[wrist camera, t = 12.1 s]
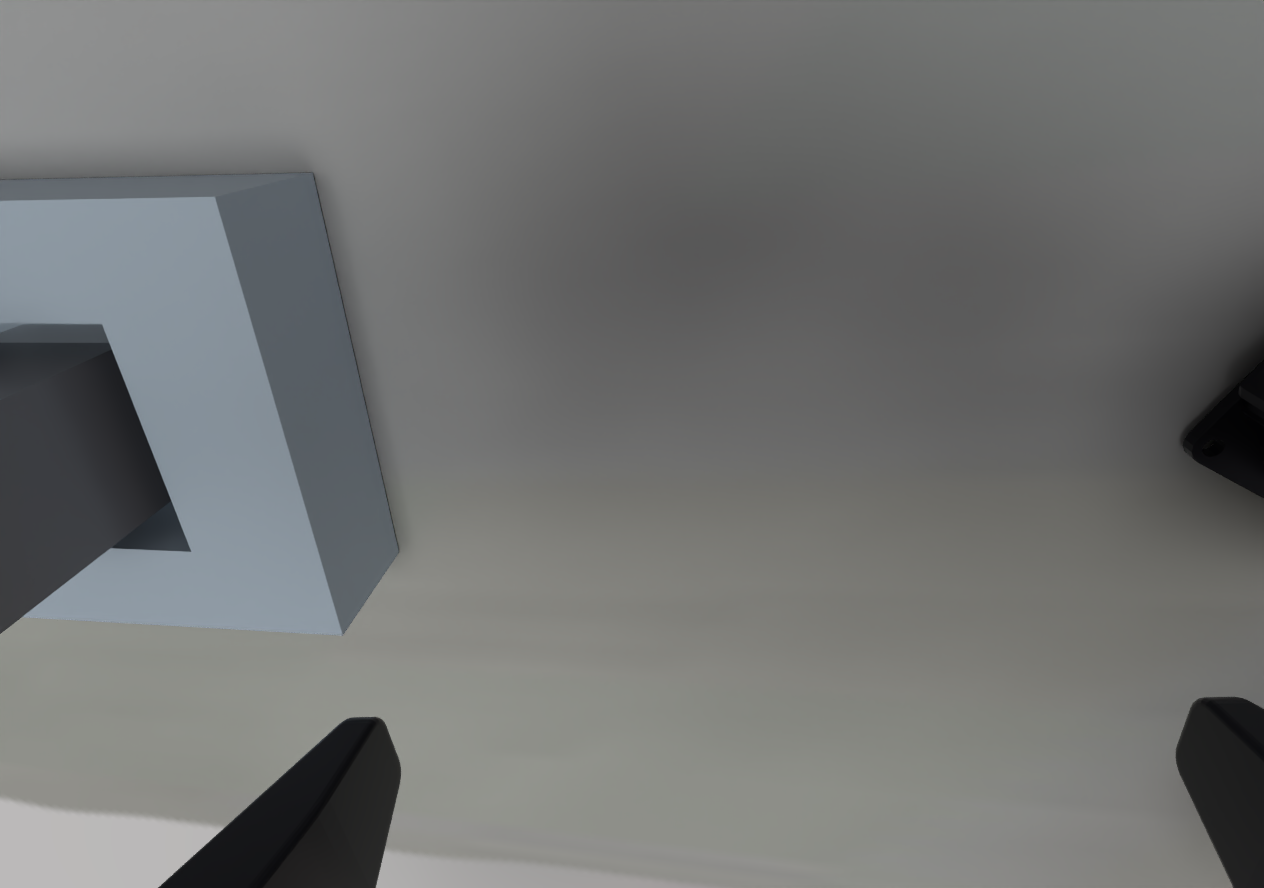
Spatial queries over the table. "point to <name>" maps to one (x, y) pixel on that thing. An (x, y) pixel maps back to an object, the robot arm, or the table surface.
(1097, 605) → the table surface
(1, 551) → the plug
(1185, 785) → the robot arm
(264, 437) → the socket block
